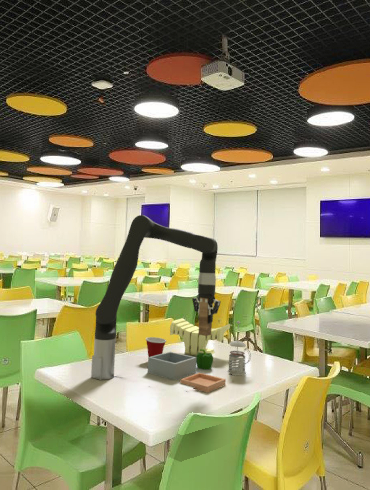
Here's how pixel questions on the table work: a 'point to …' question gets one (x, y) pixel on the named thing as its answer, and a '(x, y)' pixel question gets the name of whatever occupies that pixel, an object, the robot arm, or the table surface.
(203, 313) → the walnut stick
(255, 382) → the table surface
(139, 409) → the table surface
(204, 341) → the slatted curved stool
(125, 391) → the table surface
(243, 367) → the french press
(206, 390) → the terracotta tray
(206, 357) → the bell pepper
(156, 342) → the plastic cup
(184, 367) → the grey tub
